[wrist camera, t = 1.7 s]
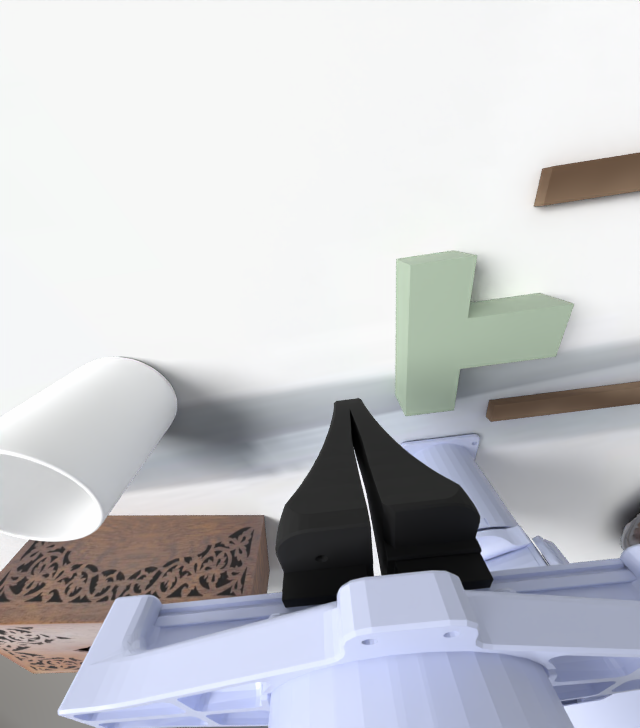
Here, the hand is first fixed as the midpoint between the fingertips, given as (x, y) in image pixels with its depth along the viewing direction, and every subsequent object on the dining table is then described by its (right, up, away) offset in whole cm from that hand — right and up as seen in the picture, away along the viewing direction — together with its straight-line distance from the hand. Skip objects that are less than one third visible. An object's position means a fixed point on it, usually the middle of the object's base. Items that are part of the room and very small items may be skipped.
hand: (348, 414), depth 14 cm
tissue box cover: (-22, -22, +22) cm, 38 cm away
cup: (-20, 0, +10) cm, 23 cm away
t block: (+10, +6, +7) cm, 14 cm away
